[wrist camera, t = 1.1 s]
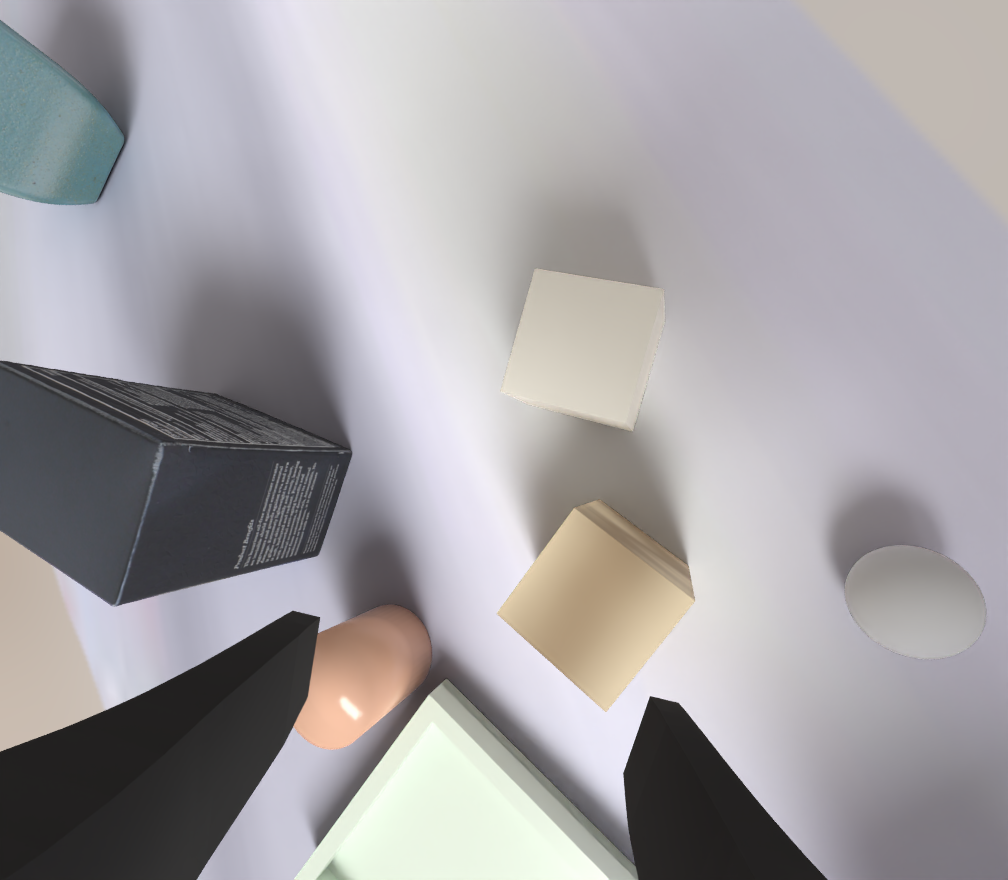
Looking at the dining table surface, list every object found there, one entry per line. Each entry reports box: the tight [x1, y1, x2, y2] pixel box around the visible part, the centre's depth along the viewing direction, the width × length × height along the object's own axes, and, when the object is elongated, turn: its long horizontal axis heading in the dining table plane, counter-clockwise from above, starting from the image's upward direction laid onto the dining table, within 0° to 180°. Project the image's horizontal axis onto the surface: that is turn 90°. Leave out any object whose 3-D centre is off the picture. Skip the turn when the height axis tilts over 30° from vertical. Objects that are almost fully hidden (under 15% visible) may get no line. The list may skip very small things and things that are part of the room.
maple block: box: [497, 499, 695, 712], centre depth 18 cm, size 4×4×6 cm
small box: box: [0, 361, 352, 607], centre depth 23 cm, size 11×6×10 cm, turn 70°
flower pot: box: [0, 20, 124, 205], centre depth 30 cm, size 9×9×9 cm
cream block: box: [500, 268, 665, 432], centre depth 20 cm, size 5×5×4 cm
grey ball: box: [845, 545, 986, 659], centre depth 16 cm, size 4×4×4 cm
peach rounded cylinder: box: [294, 604, 432, 749], centre depth 22 cm, size 4×4×5 cm
